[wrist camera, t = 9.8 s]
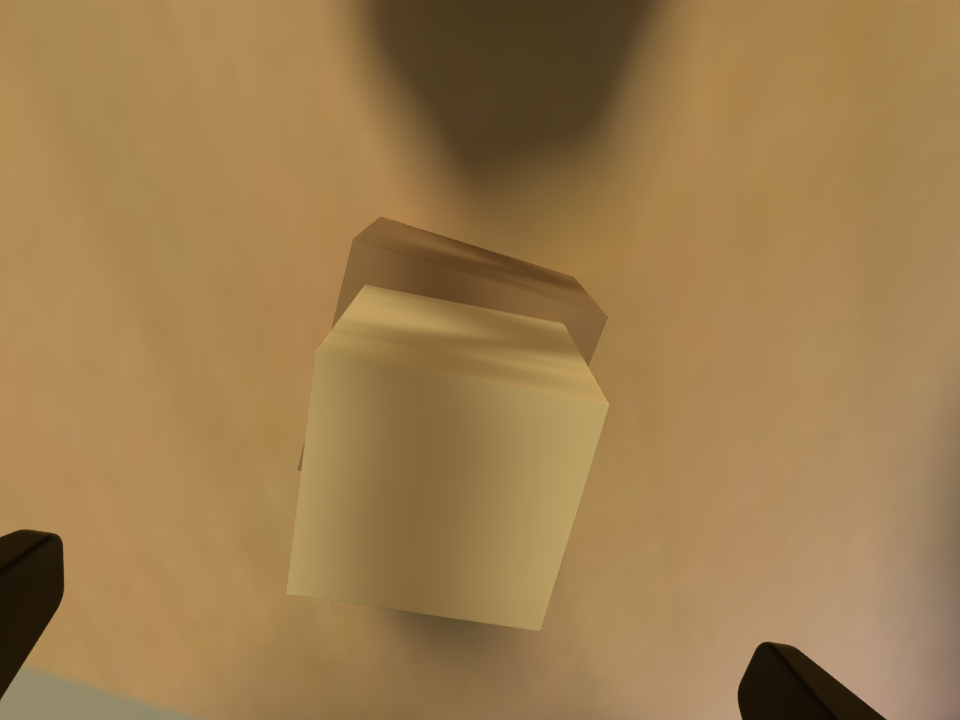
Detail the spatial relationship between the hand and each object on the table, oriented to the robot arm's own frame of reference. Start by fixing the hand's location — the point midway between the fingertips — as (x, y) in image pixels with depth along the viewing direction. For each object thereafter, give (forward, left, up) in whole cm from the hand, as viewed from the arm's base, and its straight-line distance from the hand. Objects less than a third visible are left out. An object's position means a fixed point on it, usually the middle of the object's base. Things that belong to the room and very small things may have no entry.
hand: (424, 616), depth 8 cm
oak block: (0, 0, -8) cm, 8 cm away
